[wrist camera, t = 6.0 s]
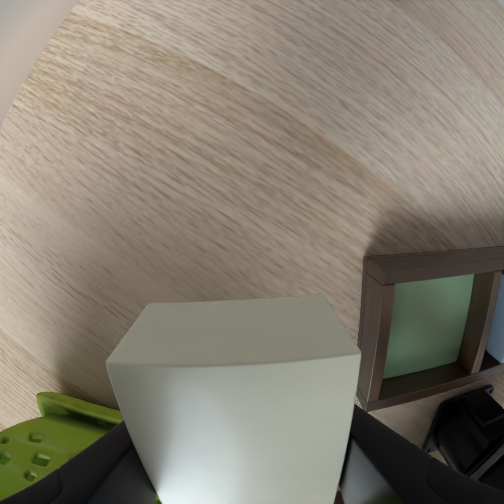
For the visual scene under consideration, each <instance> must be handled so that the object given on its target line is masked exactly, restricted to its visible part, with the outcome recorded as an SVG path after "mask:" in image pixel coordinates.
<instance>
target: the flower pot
mask: <svg viewBox="0 0 504 504" xmlns="http://www.w3.org/2000/svg"><path fill="white" fill-rule="evenodd" d="M36 397H37V403H38V407H39V410H40V413H41V417H39V418H35V419H31V420H28V421H25V422H22V423H19V424H16V425H14V426H12V427H10V428H7V429H5V430H3V431H1V432H0V500H2V499H4V498H7V497H9V496H11V495H13V494H15V493H17V492H19V491H21V490H23V489H25V488H26V487H28V486H30V485H32V484H34V483H35V482H37V481H39V480H40V479H42V478H43V477H45V476H46V475H48V474H49V473H51V472H52V471H54V470H55V469H57V468H59V467H60V466H61V465H63V464H64V463H66V462H67V461H68V460H70V459H71V458H73V457H74V456H75V455H77V454H78V453H80V452H81V451H82V450H84V449H85V448H87V447H88V446H89V445H91V444H92V443H93V442H95V441H96V440H98V439H99V438H100V437H102V436H103V435H104V434H106V433H107V432H108V431H110V430H111V429H112V428H114V427H115V426H116V425H118V424H119V423H120V422H122V421H123V420H124V419H123V416H122V414H121V411H119V410H115V409H111V408H107V407H104V406H100V405H97V404H93V403H90V402H87V401H83V400H80V399H77V398H74V397H71V396H68V395H64V394H60V393H54V392H41V393H38V394H37V396H36ZM155 504H162V503H161V501H160V499H159V497H158V495H156V500H155Z"/></svg>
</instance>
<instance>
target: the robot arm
mask: <svg viewBox="0 0 504 504" xmlns="http://www.w3.org/2000/svg"><path fill="white" fill-rule="evenodd" d="M493 391H494V387H493V386H492V385H488V386H485V387H483V388H480V389H478V390H475V391H473V392H470V393H467V394H465V395H462V396H459V397H456V398H453V399H450V400H447V401H445V402H443V403H442V404H441V405H440V407H439V409H438V412H437V415H436V417H435V420H434V423H433V425H432V428H431V430H430V433H429V435H428V438H427V440H426V443H425V445H424V447H423V450H421V449H420V448H418V447H417V446H415V445H414V444H412V443H411V442H409V441H408V440H406V439H405V438H403V437H402V436H400V435H399V434H397V433H396V432H394V431H393V430H391V429H390V428H388V427H387V426H386V425H384V424H383V423H381V422H380V421H378V420H377V419H375V418H374V417H373V416H371V415H370V414H368V413H367V412H365V411H364V410H363V409H361V408H360V407H358V406H357V405H356V404H354V411H353V417H352V422H351V428H350V433H349V439H348V444H347V449H346V454H345V458H344V463H343V468H342V472H341V476H340V481H339V487H340V490H341V493H342V496H343V499H344V502H345V504H504V409H503V408H502V407H501V406H500V405H499V404H498V403H497V402H496V401H495V400H494V399H493V398H492V397H491V396H492V393H493ZM436 450H439V452H440V453H441V455H442V456H443V458H444V460H445V461H446V463H447V464H448V466H447V465H445V464H444V463H442V462H440V461H439V460H437V459H436V458H434V457H432V458H431V455H429V454H428V453H430V452H433V451H436ZM156 495H157V493H156V491H155V489H154V487H153V485H152V483H151V481H150V479H149V477H148V475H147V473H146V471H145V469H144V467H143V464H142V462H141V460H140V458H139V455H138V453H137V451H136V449H135V446H134V444H133V442H132V439H131V437H130V434H129V432H128V429H127V427H126V424H125V421H124V420H123V421H122V422H120V423H119V424H118V425H116V426H115V427H114V428H112V429H111V430H110V431H108V432H107V433H106V434H104V435H103V436H102V437H100V438H99V439H98V440H96V441H95V442H93V443H92V444H91V445H89V446H88V447H87V448H85V449H84V450H82V451H81V452H80V453H78V454H77V455H75V456H74V457H73V458H71V459H70V460H68V461H67V462H66V463H64V464H63V465H61V466H60V467H59V468H57V469H55V470H54V471H52V472H51V473H49V474H48V475H46V476H45V477H43V478H42V479H40V480H39V481H37V482H35V483H34V484H32V485H30V486H28V487H26V488H25V489H23V490H21V491H19V492H17V493H15V494H13V495H11V496H9V497H7V498H4V499H2V500H0V504H155V500H156Z"/></svg>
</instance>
